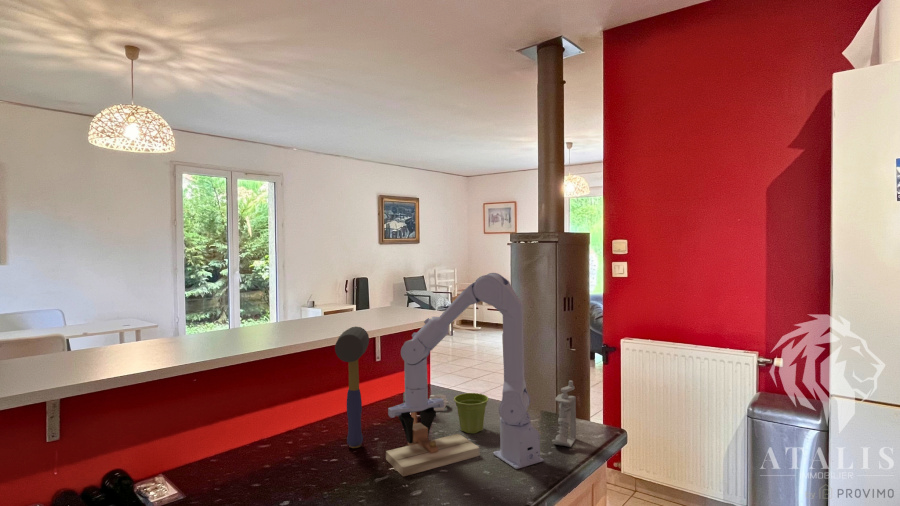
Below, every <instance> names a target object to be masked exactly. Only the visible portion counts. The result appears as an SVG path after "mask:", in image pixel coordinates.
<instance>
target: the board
mask: <svg viewBox="0 0 900 506" xmlns="http://www.w3.org/2000/svg"><path fill="white" fill-rule="evenodd" d="M429 440H430V441H436V446H438V452H435V453H430V452H429V451H428V450H426V449H425V448H424V447H423V446H421V445H420V444H419V443H418V444H413V445H409V446H408V445H405V446H402V447H397V448H393V449H389V450H386V451H385V460H386V461H387V462H388V463H389V464H390V465H391V466H392V467H393V468H394V469H395V470H396V471H397V472H398V474H400V475H401V477H406V476H407V477H408V476H411V475H414V474H417V473H421V472H426V471H429V470H433V469H436V468H440V467H444V466H447V465H451V464H454V463H458V462H462V461H465V460H469V459H473V458H476V457H480V452H481V451H480V446H479V445H476V444H475V443H473V442H472V441H470V440H469V439H467V438H466V437H465V436H463V435H461V434H460V433H455V434H451V435H448V436H444V437H439V438H435V439H429Z"/></svg>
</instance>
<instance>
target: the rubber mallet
mask: <svg viewBox="0 0 900 506" xmlns="http://www.w3.org/2000/svg"><path fill="white" fill-rule="evenodd" d="M369 342H370V337H369V333H368V331H367V330H366V329H365V328H363V327H360V326H352V327H350V328H347V329H346V330H345V331H343V332H342V333H341V334H340V335H339V336H338V338H337V340H336V343H335V344H334V345H335V346H334V350H335V351H334V352H335V354H336V356H337V358H339V359H340V361H342V362H345V363H348V390H347V396H346V413H347V429H348V430H347V437H346V443H347V445H348V446H349V448H351V449H358V448H360V447H361V446H362V444H363V441H364V435H363V433H362V411H363V408H362V407H363V402H362V395H361V389H360V375H359V374H360V373H359V372H360V371H359V368H360V367H359V359H360V358H361V357H362V356H363V355H364V354H365V353H366V351H367V349H368V348H369V347H368V346H369Z"/></svg>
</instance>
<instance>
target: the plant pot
mask: <svg viewBox="0 0 900 506" xmlns="http://www.w3.org/2000/svg"><path fill="white" fill-rule="evenodd" d="M453 401H454V402H455V406H456V408H457V414H458V415H457V416H458V420H459V426H460V431H461V432H465V434H477V433H479V432H482V431H483V430H484V422H485V421H484V420H485V414H486V407H487V403H488V401H489V397H488V396H487V395H485V394H482V393H478V392H477V393H476V392H466V393H460V394H457V395H456V396H454V398H453Z"/></svg>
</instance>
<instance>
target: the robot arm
mask: <svg viewBox="0 0 900 506" xmlns="http://www.w3.org/2000/svg"><path fill="white" fill-rule="evenodd" d="M480 302H482V303H485V304H488V305H490V306H492V307H493V308H494V309H496V310H497V311H498V312H499V313H500V314H501V315H502V344H503V345H502V348H503V349H502V350H503V351H502V353H503V385H502V386H503V387H502V396H501V397H502V398H501V401H500V403H499V404H498V414H499V436H500V438H499V439H500V440H499V441H500V442H499V443H500V444H499V445H500V450H495V451H493V452H492V454H493V455H494V456H496V457H497V458H498V459H500V460H502V461H503V462H505V463H506V464H508V465H510V466H511V467H512V468H513V469H516V470H518V469H521V468H524V467H528V466H531V465H534V464H539V463H541V462H543V461H544V458H542V457H541V437H540V436H541V435H540V432H539V431H538V429H536V428H535V427H534V425H533V423H532V421H531V419H532V418H531V416H530V414H529V412H528V411H527V410H528V408H529V407H530V404H531V397H530V393H529V392H528V389H527V382H526V380H525V349H524V347H525V346H524V345H525V344H524V341H525V340H524V305H523V303H522V300H521V298H519V296H518V295H517V293H516V292H515V290H514V289H513V287H512V285H511V283H510V281H509V280H508V279H507V278H505V277H504V276H502V275H501V274H499V273H497V272H490V273H488V274H483V275H480V276H479V277H478V278H477V279H476V280H475V282H472V283H470V284H469V285H468V286H467V287H466V288H465V289H463V291H461V293H460V294H458V295H457V297H456V298H455V299H454V300H453V302H451V304H449V306H448V307H446V309H445V310H444V311H443V312H442V313H441V315H439V316H431V317H430V318H429V317H428V318H426V319H425V320H424V321H423V323H424V325H422V327H421V328H420V329H419V330H418V331H417V332H415V331H414V332H413V333H412V334H411V337H412V338H411V339H409V340H406V341H404V342H403V345H402V346H401V349H400V357H401V358H402V360H403V361H404V370H403V371H404V392H405V403H403V402H402V403H400V404H397V405H394V406H391V407H388V409H387V413H388V416H389V418H391V419H392V418H396V417H398V419H399V421H400V424H401V425H402V427H403V431H404V434H405V435H404V436H405V439H406V442H407V443H408V442H409V443H412V442H413V422H414V418H412V417H411V413H413V412H419V416H420V423H422V424H423V425H424V426H426V427H427V428H428V436H429V434H430V430H431V427H432V425H433V422H434V419H435V418H436V417H437V416H436V415H437V411H435V410H434V408H438V407H439V408H443V407H444V400H443V399H441V398H437V399H429V398H428V397H429V393H428V391H429V390H428V356H429V355H430V353H431V351H433V349H435V348H436V347H437V346H438V344H439V343H440V342H441V341H443V339H444V338H445V337H446V336H448V335H449V332H450V328H449V327H450V325H451V324H452V323H453V322H454V321H455V320H456V319H457V318H458V317H459V316H460V315H462V314H463V312H465V310H466V309H468V307H470V306H471V305H475V304H478V303H480Z"/></svg>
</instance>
